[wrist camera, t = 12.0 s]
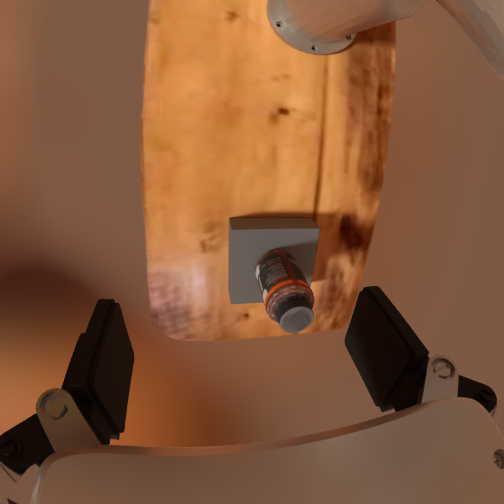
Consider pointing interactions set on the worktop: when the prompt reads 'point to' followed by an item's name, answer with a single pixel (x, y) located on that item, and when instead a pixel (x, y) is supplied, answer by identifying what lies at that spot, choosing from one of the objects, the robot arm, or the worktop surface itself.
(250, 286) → the pedestal
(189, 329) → the worktop surface
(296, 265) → the supplement bottle
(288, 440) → the robot arm
